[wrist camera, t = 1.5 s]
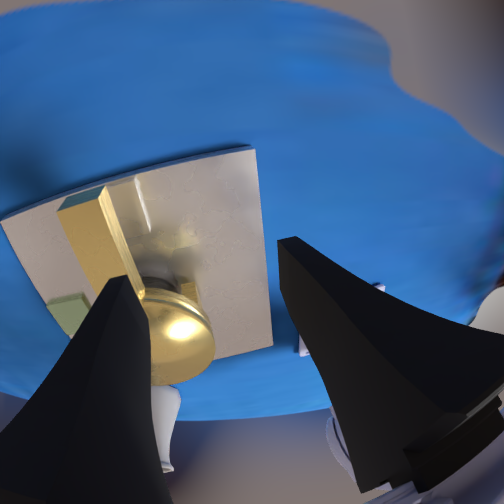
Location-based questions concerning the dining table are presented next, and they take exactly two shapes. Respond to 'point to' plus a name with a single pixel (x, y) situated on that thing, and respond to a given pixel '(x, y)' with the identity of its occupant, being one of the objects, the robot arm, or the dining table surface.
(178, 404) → the flask
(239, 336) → the base plate
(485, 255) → the dining table surface
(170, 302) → the gold bar with disc
